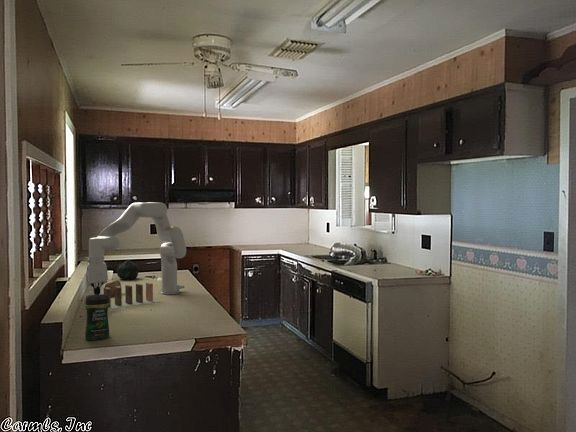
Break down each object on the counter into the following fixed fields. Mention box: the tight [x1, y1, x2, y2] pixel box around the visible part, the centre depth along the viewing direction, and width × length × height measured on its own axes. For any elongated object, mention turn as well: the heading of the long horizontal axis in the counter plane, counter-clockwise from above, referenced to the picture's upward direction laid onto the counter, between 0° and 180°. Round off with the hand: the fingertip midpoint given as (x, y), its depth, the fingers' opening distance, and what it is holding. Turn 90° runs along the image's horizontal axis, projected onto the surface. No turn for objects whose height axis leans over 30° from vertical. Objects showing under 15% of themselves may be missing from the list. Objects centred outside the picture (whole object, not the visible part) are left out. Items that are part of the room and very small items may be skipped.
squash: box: [116, 259, 139, 281], centre depth 354 cm, size 14×15×15 cm
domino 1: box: [103, 286, 112, 307], centre depth 264 cm, size 2×5×10 cm, turn 39°
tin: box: [103, 280, 122, 297], centre depth 297 cm, size 15×3×8 cm, turn 168°
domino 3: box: [124, 284, 133, 304], centre depth 272 cm, size 2×5×10 cm, turn 39°
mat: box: [108, 298, 160, 310], centre depth 271 cm, size 32×12×1 cm, turn 129°
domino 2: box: [114, 286, 123, 306], centre depth 268 cm, size 2×5×10 cm, turn 39°
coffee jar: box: [84, 293, 110, 341], centre depth 207 cm, size 10×8×19 cm
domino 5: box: [145, 282, 154, 302], centre depth 279 cm, size 2×5×10 cm, turn 39°
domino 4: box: [135, 283, 144, 303], centre depth 276 cm, size 2×5×10 cm, turn 39°
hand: (97, 294), depth 261 cm, fingers closed
